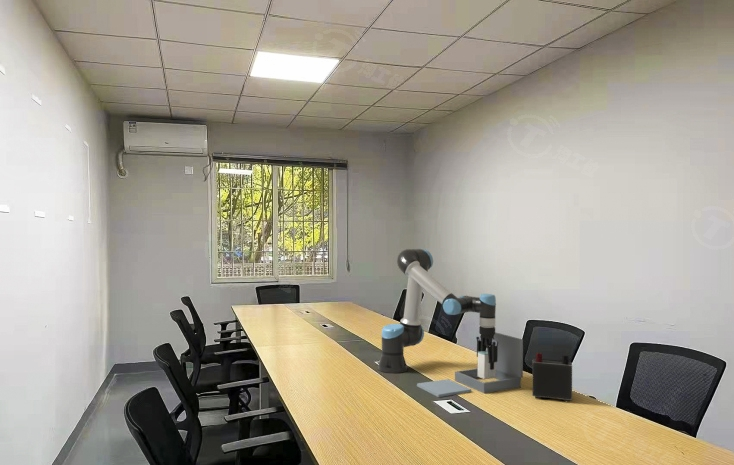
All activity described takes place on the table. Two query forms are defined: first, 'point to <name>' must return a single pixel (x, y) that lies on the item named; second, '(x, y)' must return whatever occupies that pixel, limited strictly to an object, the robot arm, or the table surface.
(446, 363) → the table surface
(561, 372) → the voltmeter
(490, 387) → the case
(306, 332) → the table surface
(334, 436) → the table surface
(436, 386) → the pad
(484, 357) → the block
